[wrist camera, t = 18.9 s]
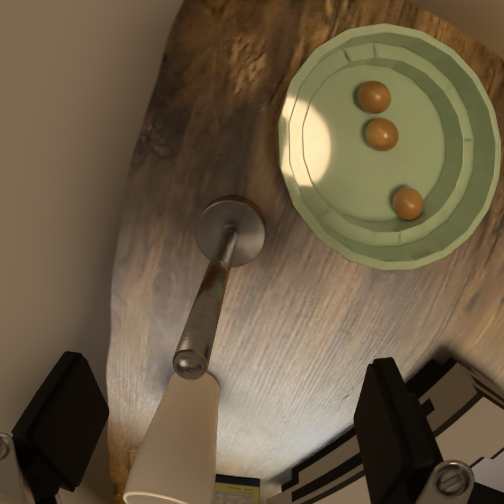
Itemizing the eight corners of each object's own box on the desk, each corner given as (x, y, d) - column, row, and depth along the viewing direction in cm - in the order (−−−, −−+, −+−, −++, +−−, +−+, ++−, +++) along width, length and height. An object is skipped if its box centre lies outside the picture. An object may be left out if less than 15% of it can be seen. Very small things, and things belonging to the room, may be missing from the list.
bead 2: (402, 128, 18) (401, 158, 20) (394, 111, 19) (394, 139, 21) (367, 129, 18) (368, 159, 20) (362, 112, 20) (363, 140, 22)
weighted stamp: (238, 181, 23) (191, 278, 8) (278, 233, 25) (295, 389, 10) (187, 220, 24) (88, 351, 10) (227, 268, 26) (186, 434, 11)
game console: (266, 480, 38) (266, 525, 31) (443, 340, 28) (477, 392, 20) (359, 499, 42) (365, 534, 34) (506, 390, 32) (529, 426, 24)
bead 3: (400, 181, 22) (394, 185, 21) (428, 191, 21) (425, 196, 19) (393, 210, 23) (386, 216, 22) (420, 220, 22) (416, 227, 20)
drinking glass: (151, 369, 30) (103, 490, 16) (206, 352, 29) (174, 492, 15) (186, 409, 32) (158, 524, 18) (239, 396, 31) (227, 525, 17)
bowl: (271, 41, 19) (272, 14, 14) (454, 63, 18) (496, 54, 13) (277, 240, 25) (280, 274, 19) (448, 237, 24) (485, 265, 18)
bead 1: (375, 68, 17) (387, 94, 17) (390, 86, 19) (400, 111, 18) (347, 83, 19) (356, 109, 18) (363, 99, 21) (372, 124, 20)
